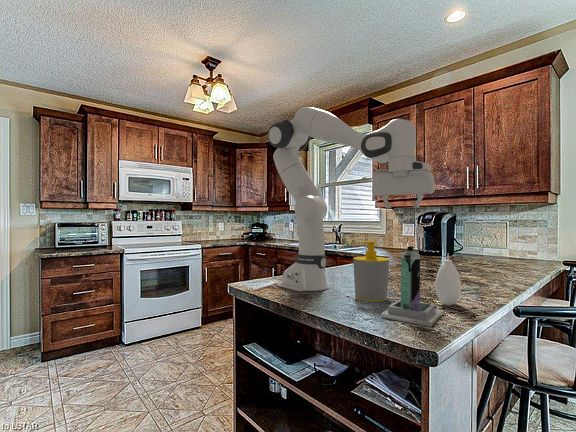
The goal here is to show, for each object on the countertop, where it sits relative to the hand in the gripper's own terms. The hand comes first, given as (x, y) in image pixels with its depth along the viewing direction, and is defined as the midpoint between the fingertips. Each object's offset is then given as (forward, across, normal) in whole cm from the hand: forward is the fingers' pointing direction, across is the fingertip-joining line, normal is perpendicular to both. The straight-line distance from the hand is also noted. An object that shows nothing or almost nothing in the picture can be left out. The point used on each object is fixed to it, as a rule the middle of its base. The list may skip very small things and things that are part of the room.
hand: (402, 208), depth 111 cm
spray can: (+32, +6, -10) cm, 34 cm away
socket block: (+33, +6, -9) cm, 35 cm away
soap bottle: (+33, -13, +5) cm, 36 cm away
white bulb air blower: (+33, +12, +12) cm, 37 cm away
